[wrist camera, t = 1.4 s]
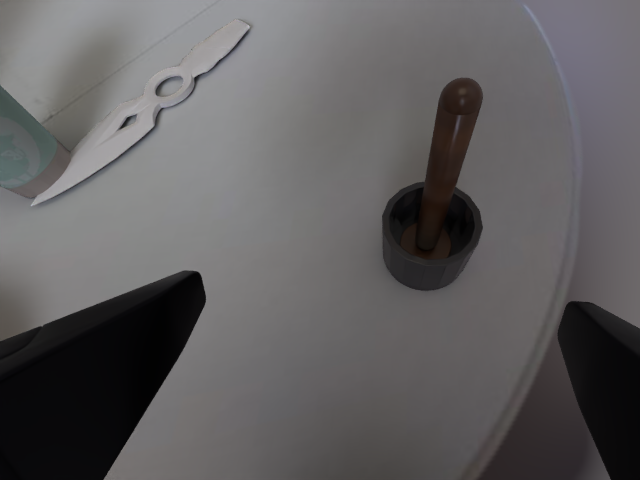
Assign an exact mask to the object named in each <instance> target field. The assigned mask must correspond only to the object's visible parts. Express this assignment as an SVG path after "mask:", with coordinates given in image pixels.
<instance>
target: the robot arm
mask: <svg viewBox="0 0 640 480" xmlns="http://www.w3.org/2000/svg"><path fill="white" fill-rule="evenodd" d="M205 302H206V295H205V290H204V286H203V282H202V277H201V275H200V273H199V272H197V271H181V272H179V273H176V274H174V275H171V276H168V277H166V278H163V279H161V280H158V281H156V282H153V283H150V284H148V285H145V286H143V287H140V288H138V289H135V290H132V291H130V292H127V293H125V294H122V295H119V296H117V297H114V298H112V299H109V300H107V301H104V302H101V303H99V304H96V305H94V306H91V307H89V308H86V309H83V310H81V311H78V312H76V313H73V314H70V315H68V316H65V317H63V318H60V319H58V320H55V321H52V322H50V323H47V324H45V325H43V327H42V326H39V327H37V328H34V329H32V330H29V331H26V332H24V333H21V334H19V335H16V336H13V337H11V338H8V339H5V340H3V341H0V480H104V478H105V476H106V475H107V473H108V471H109V470H110V468H111V467H112V465H113V463H114V462H115V460H116V458H117V457H118V455H119V454H120V452H121V450H122V449H123V447H124V445H125V444H126V442H127V441H128V439H129V437H130V436H131V434H132V432H133V431H134V429H135V428H136V426H137V424H138V423H139V421H140V419H141V418H142V416H143V415H144V413H145V411H146V410H147V408H148V406H149V405H150V403H151V402H152V400H153V398H154V397H155V395H156V393H157V392H158V390H159V389H160V387H161V385H162V384H163V382H164V380H165V379H166V377H167V376H168V374H169V372H170V371H171V369H172V367H173V366H174V364H175V363H176V361H177V359H178V358H179V356H180V354H181V352H182V351H183V349H184V347H185V345H186V343H187V341H188V339H189V337H190V335H191V333H192V331H193V328H194V326H195V324H196V322H197V320H198V318H199V316H200V314H201V312H202V310H203V308H204V306H205ZM558 342H559V345H560V348H561V351H562V355H563V358H564V361H565V365H566V368H567V371H568V374H569V377H570V381H571V384H572V387H573V391H574V394H575V396H576V400H577V402H578V405H579V408H580V410H581V413H582V415H583V417H584V420H585V422H586V424H587V426H588V429H589V431H590V433H591V436H592V438H593V440H594V442H595V444H596V447H597V449H598V451H599V454H600V456H601V458H602V461H603V463H604V465H605V467H606V470H607V472H608V474H609V476H610V479H611V480H640V329H639V328H638V327H636V326H634V325H632V324H630V323H628V322H627V321H625V320H623V319H621V318H619V317H617V316H615V315H614V314H612V313H610V312H608V311H606V310H604V309H603V308H601V307H599V306H597V305H595V304H593V303H590V302H579V301H571V302H569V303H568V304H567V305H566V307H565V310H564V313H563V316H562V319H561V322H560V325H559V329H558Z"/></svg>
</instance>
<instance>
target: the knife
mask: <svg viewBox="0 0 640 480" xmlns="http://www.w3.org/2000/svg"><path fill="white" fill-rule="evenodd" d="M249 28H250V26H249V25H248V24H247V23H244V22H242V21H239V20H237V19H234V20H233V21H232V22H230V23H228V24H227V25H226V26H224V27H222V28H220V29H219V30H217V31H216V32H215V33H214V34H212V35H211V36H210V37H208V38H207V39H206V40H204V41H203V42H201V43H198V44H197V45H196V46H195V47H193V48H192V49H191V50H192V51H191V52H190V53H189V54H188V55H187V56H186V57H184V58H183V59H182V61H181V63H180V65H179V66H178V67H169V68H166V69H164V70H162V71H160V72H158V73H156V74H155V75H154V76H153V77H152V78H151V79H150V80H149V81H148V82H147V84H146V86H145V89H144V94H143V95H142V96H140V97H139V98H137V99H134V100H131V101H126V102H123V103H121V104H120V105H119V106H117V107H116V108H115V109H114V110H113V111H112V112H110V113H109V114H108V115H107V116H106V117H105V118H104V119H103V120H102V121H100V122H99V123H98V124H97V125H96V126H95V127H94V128H93V129H92V130H91V131H90V132H89V133H88V134H87V135H86V136H85V137H84V138H83V139H82V140H81V141H80V142H79V143H78V144H77V145H76V146H75V148H74V149H73V150H72V151H71V152H70V156H71V161H70V163H69V165H68V167H67V169H66V170H65V172H64V173H63V174H62V176H61V177H60V178H59V179H58V180H57V181H56V182H55V183H54V184H53V185H52V186H51V187H50V188H49V189H47V190H46V191H45V192H43V193H41V194H39V195H37V197H36V198H35V200H34V201H33V203H32V205H31V206H34V205H36V204H38V203H41V202H43V201H45V200H48V199H50V198H52V197H54V196H56V195H58V194H60V193H62V192H63V191H65V190H67V189H69V188H71V187H72V186H74V185H76V184H77V183H79V182H81V181H82V180H84V179H86V178H87V177H89V176H90V175H92V174H93V173H95V172H96V171H98V170H99V169H101V168H102V167H104V166H105V165H107V164H108V163H110V162H111V161H113V160H114V159H115V158H117V157H118V156H119V155H120V154H122V153H123V152H124V151H126V150H127V149H128V148H129V147H131V146H132V145H133V144H134V143H136V142H137V141H138V140H139V139H141V138H142V137H143V136H144V135H145V134H146V133H147V132H148V131H150V130H151V129H152V128H153V127H154V126H155V118H156V116H157V113H158V112H159V110H160V109H161V108H164V107H170V106H173V105H175V104H178V103H179V102H181V101H182V100H184V99H185V98H186V97H187V96H188V95H189V94H190V93H191V92H192V90H193V88H194V85H195V83H194V77H196V76H197V75H199V74H201V73H204V72H205V73H206V72H208V71H209V70H210V69H211V68H213V67H214V66H215V63H217V62H218V61H219V60H220V59H221V58H223V57H224V56H225V55H227V54H228V53H229V52H230V51H231V50H232V49H233V48H234V47H235V45H236V44H237V42H238V41H239V40H240V39H241V38H242V36H243V35H244V34H245V33H246V32H247V30H248V29H249ZM174 76H178V77H182V78H183V85H182V87H181V88H180V89H179V90H178V91H177V92H176V93H174V94H172V95H170V96H167V97H158V96H156V89H157V87H158V85H159V84H160V83H161V82H162V81H164V80H165V79H168V78H170V77H174ZM136 114H138V115H137V118H136V122H135V123H133V124H131V125H129V126H127V127H125V128H123V129H121V130H119V129H120V127H121V126H122V124H123V123H124V121H125V120H126V118H127V117H129V116H133V115H136ZM118 130H119V131H118ZM31 206H30V207H31Z"/></svg>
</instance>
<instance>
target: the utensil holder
mask: <svg viewBox="0 0 640 480" xmlns="http://www.w3.org/2000/svg"><path fill="white" fill-rule="evenodd" d="M424 183H425V182H419V183H415V184H413V185H410V186H408V187H405V188H403V189H401V190H400V191H399V192H398V193H396V194H395V195H394V196H393V197H392V198H391V199H390V200H389V201H388V203H387V206H386V208H385V210H384V213H383V215H382V234H383V258H384V262H385V265H386V267H387V269H388V270H389V272H390V273H391V275H392V276H393V277H394V278H395V279H396V280H397V281H399V282H400V283H402V284H403V285H405V286H407V287H410V288H413V289H416V290H425V291H429V290H436V289H440V288H443V287H445V286H447V285H449V284H450V283H452V282H453V281H454V280H455V279H456V278H457V277H458V276H459V275H460V273H461V272H462V271H463V269H464V268H465V266H466V264H467V262H468V261H469V259H470V257H471V255H472V254H473V252H474V250H475V248H476V247H477V245H478V242H479V239H480V236H481V232H482V229H483V226H482V220H481V215H480V211H479V209H478V208H477V206H476V205H475V203H474V202H473V201H472V199H471V198H470V197H469V196H468V195H467V194H465V193H464V192H462V191H461V190H459V189H458V188H456V187H455V190H454V193H453V196H452V199H451V202H450V205H449V209H448V212H447V215H446V218H445V221H444V224H443V229H444V230H445V231H446V232H447V233H448V235H449V237H450V239H451V245H452V247H451V252H450V254H449V257H447V258H445V259H424V258H421V257H418V256H415V255H412V254H409V253H408V252H407V251H406V250H404V249H403V248H402V247H401V246H400V239H401V236H402V234H403V232H404V231H405V230H406V229H407V228H408V227H409V226H411V225H413V224H415V223H418V218H419V212H420V206H421V201H422V195H423V189H424Z"/></svg>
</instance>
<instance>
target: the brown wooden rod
mask: <svg viewBox="0 0 640 480" xmlns="http://www.w3.org/2000/svg"><path fill="white" fill-rule="evenodd" d="M482 100H483V93H482V89H481V87H480V85H479V84H478V83H477V82H476V81H474V80H473V79H470V78H458V79H455V80H453V81H451V82H450V83H448V84H447V85H446V86H445V87H444V89H443V90H442V92H441V94H440V98H439V103H438V109H437V114H436V120H435V126H434V132H433V137H432V143H431V149H430V155H429V160H428V166H427V172H426V178H425V183H424V189H423V195H422V201H421V206H420V212H419V218H418V223H415V224H413V225H411V226H409V227H408V228H407V229H406V230H405V231H404V232H403V234H402V236H401V239H400V246H401V247H402V248H403V249H404V250H406V251H407V252H408V253H409V254H412V255H415V256H418V257H421V258H424V259H445V258H447V257H449V254H450V252H451V247H452V245H451V239H450V237H449V235H448V233H447V232H446V231H445V230H444V229H443V224H444V221H445V218H446V215H447V212H448V209H449V205H450V202H451V199H452V196H453V193H454V190H455V187H456V183H457V180H458V177H459V174H460V171H461V168H462V164H463V161H464V158H465V155H466V152H467V149H468V146H469V142H470V139H471V136H472V133H473V130H474V127H475V123H476V120H477V117H478V114H479V111H480V108H481V104H482Z"/></svg>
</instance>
